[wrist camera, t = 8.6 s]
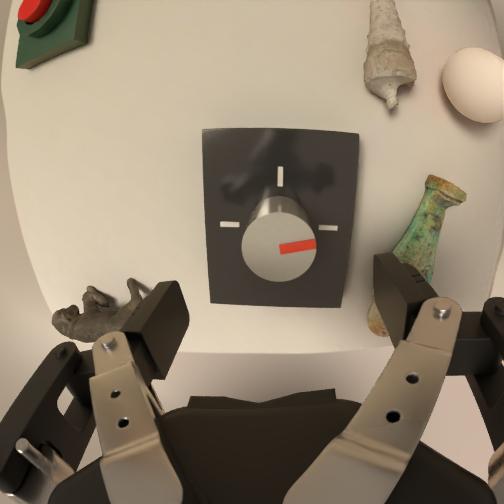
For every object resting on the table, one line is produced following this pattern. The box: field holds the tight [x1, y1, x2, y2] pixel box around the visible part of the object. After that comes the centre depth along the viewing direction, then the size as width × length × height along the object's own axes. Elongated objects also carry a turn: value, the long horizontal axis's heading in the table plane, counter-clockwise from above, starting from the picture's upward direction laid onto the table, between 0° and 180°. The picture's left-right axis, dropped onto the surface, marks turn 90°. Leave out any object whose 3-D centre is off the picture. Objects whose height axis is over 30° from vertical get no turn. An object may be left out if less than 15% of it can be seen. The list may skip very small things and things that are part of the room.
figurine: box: [367, 175, 466, 337], centre depth 23 cm, size 6×15×4 cm, turn 156°
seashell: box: [364, 0, 417, 110], centre depth 15 cm, size 4×16×4 cm, turn 0°
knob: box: [242, 196, 316, 282], centre depth 19 cm, size 4×4×5 cm
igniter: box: [16, 0, 93, 69], centre depth 15 cm, size 11×9×4 cm
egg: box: [442, 47, 504, 123], centre depth 14 cm, size 6×6×8 cm
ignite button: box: [18, 0, 52, 23], centre depth 13 cm, size 4×4×2 cm
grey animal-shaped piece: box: [52, 278, 142, 343], centre depth 26 cm, size 12×6×7 cm, turn 97°
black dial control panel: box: [202, 128, 359, 308], centre depth 23 cm, size 14×11×3 cm
